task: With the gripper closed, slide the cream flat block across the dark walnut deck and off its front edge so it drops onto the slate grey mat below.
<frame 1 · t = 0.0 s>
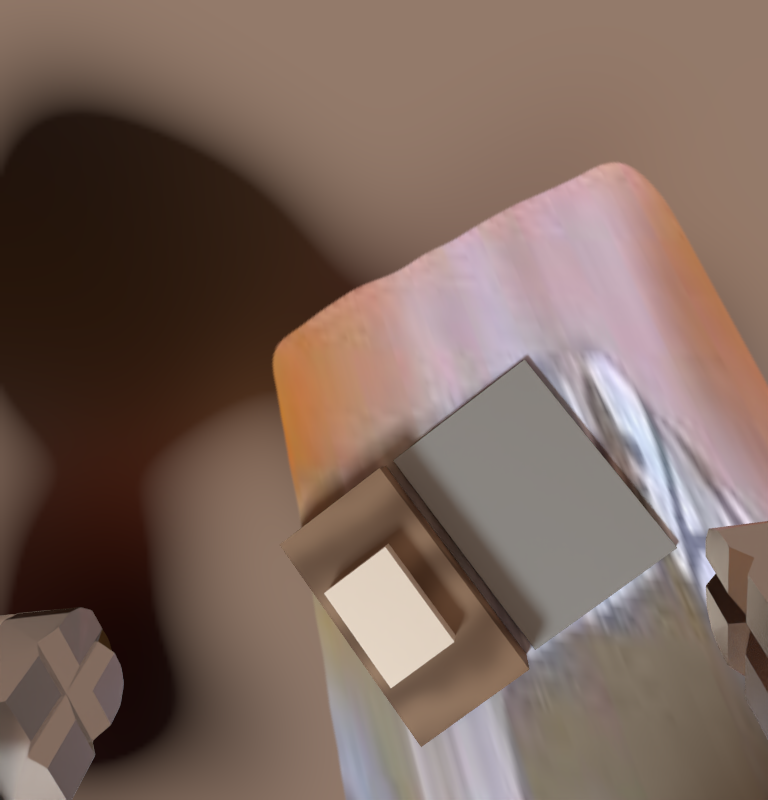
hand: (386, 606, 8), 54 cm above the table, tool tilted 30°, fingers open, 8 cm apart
walnut deck: (405, 594, 62), on the table
cream flat block: (391, 611, 58), point 4 cm above the table, touching walnut deck
grey mat: (529, 501, 61), on the table
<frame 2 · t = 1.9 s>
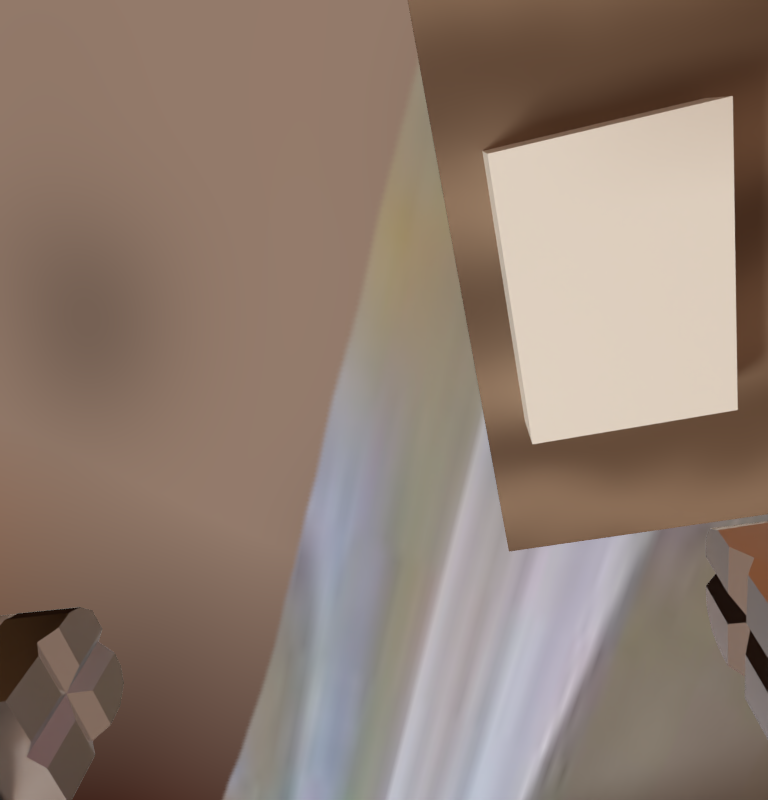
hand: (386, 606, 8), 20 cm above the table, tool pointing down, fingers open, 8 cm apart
walnut deck: (605, 249, 26), on the table
cream flat block: (605, 276, 22), point 4 cm above the table, touching walnut deck
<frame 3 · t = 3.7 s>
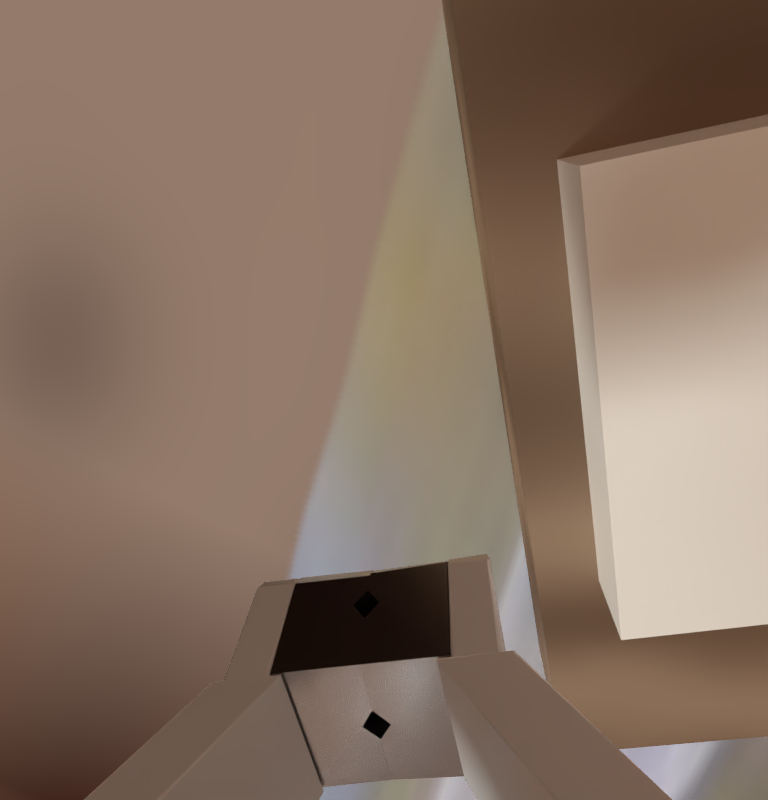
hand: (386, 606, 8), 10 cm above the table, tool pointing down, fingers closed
walnut deck: (720, 311, 17), on the table
cream flat block: (749, 371, 13), point 4 cm above the table, touching walnut deck
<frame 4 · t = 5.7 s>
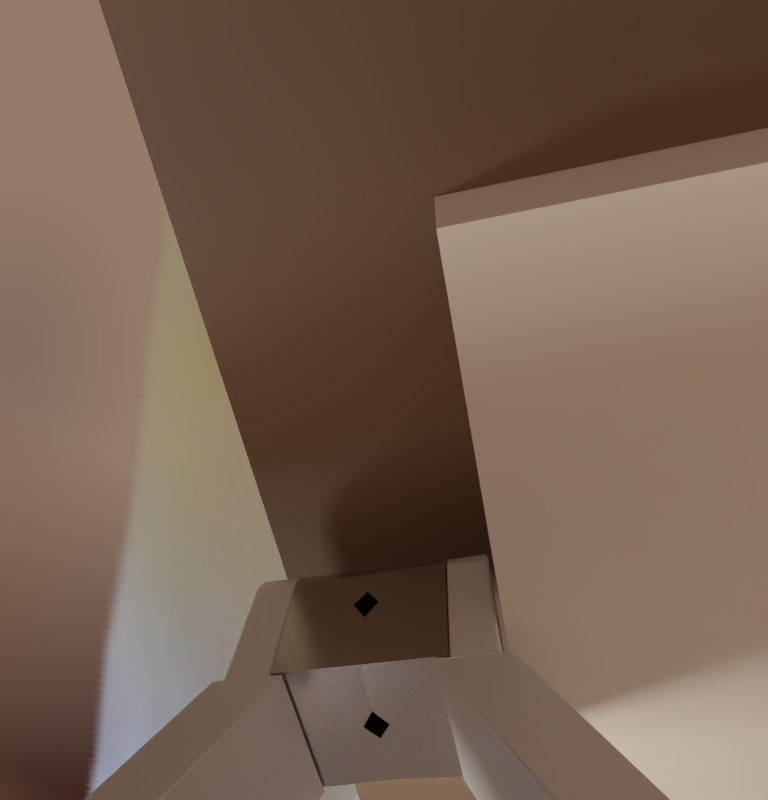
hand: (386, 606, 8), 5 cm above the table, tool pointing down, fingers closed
walnut deck: (638, 410, 12), on the table
cream flat block: (765, 533, 8), point 4 cm above the table, touching gripper, walnut deck
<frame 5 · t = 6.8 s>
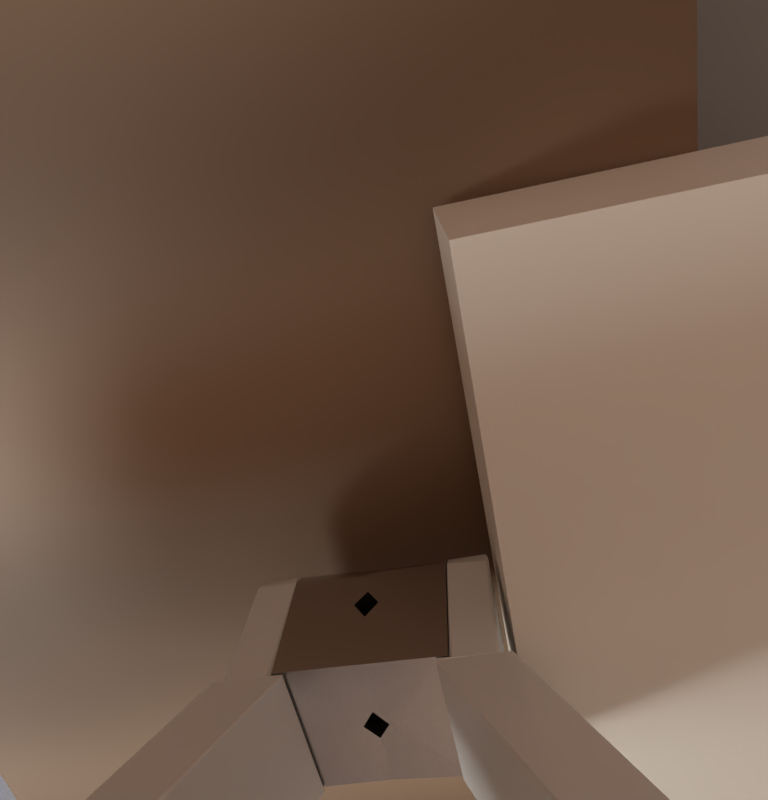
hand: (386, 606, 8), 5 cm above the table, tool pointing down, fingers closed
walnut deck: (314, 459, 13), on the table
cream flat block: (759, 536, 8), point 4 cm above the table, touching gripper
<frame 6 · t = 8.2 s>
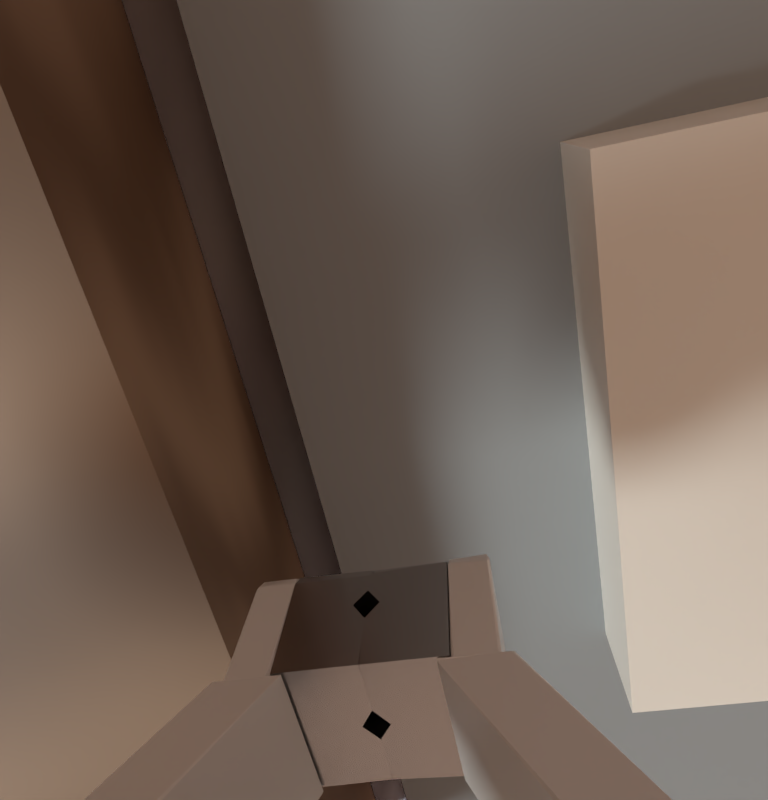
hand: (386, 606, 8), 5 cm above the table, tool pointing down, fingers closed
walnut deck: (7, 504, 14), on the table
grey mat: (731, 395, 12), on the table
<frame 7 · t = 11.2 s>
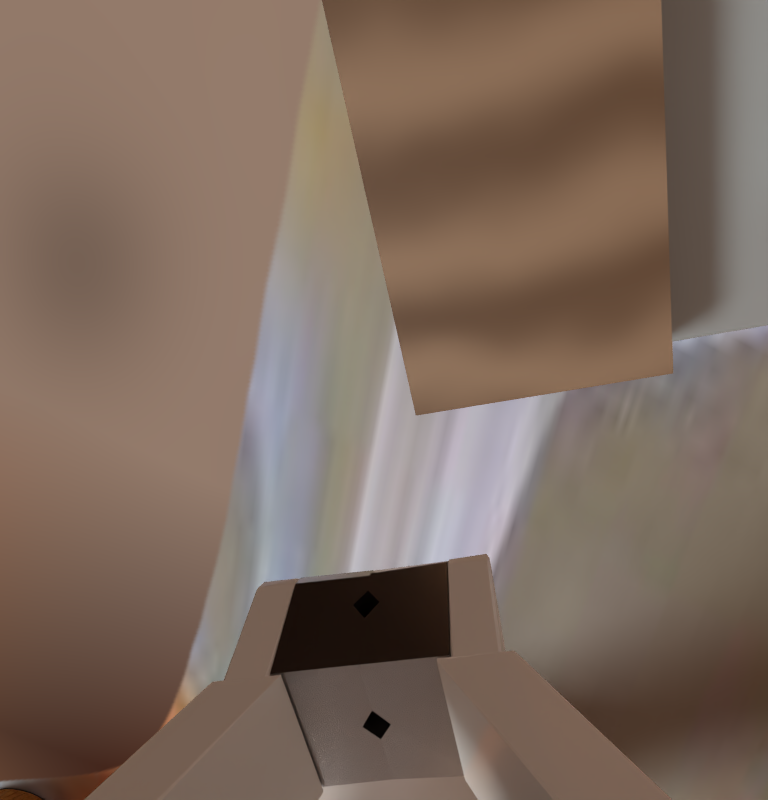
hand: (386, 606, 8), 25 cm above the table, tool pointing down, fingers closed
walnut deck: (499, 143, 29), on the table
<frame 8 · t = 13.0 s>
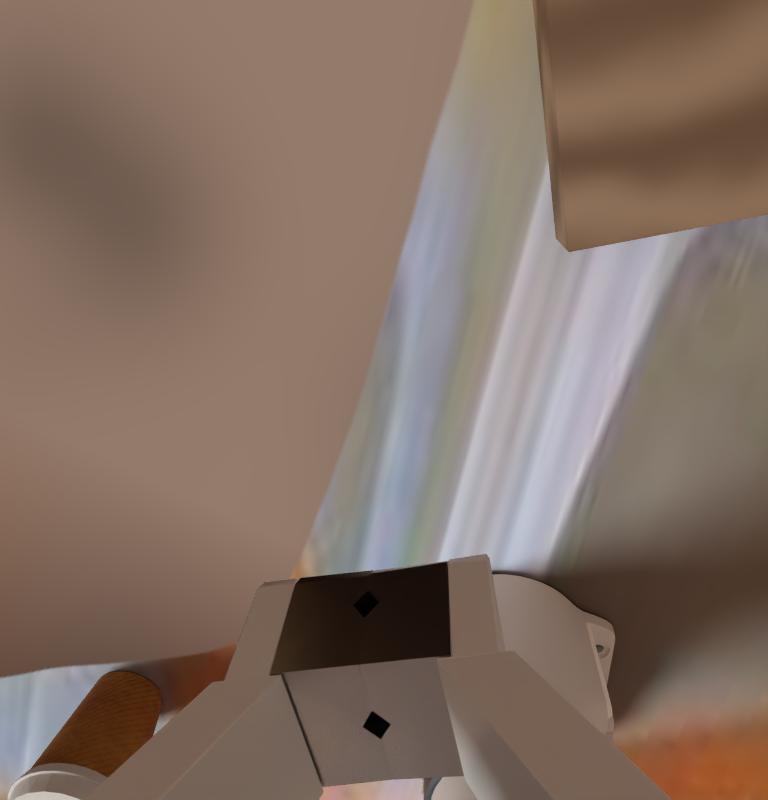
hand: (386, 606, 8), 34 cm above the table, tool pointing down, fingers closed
disposable coffee cup: (130, 693, 59), on the table
walnut deck: (649, 12, 34), on the table
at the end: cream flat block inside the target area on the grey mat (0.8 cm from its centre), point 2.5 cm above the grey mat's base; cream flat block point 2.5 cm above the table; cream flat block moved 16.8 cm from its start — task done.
